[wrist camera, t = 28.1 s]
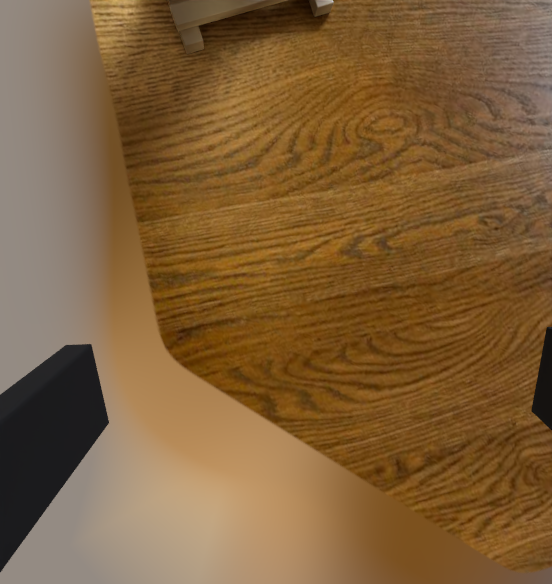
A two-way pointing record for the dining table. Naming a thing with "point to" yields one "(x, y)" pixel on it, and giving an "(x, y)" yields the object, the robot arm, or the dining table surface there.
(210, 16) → the rack
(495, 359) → the dining table surface
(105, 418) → the robot arm
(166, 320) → the dining table surface
